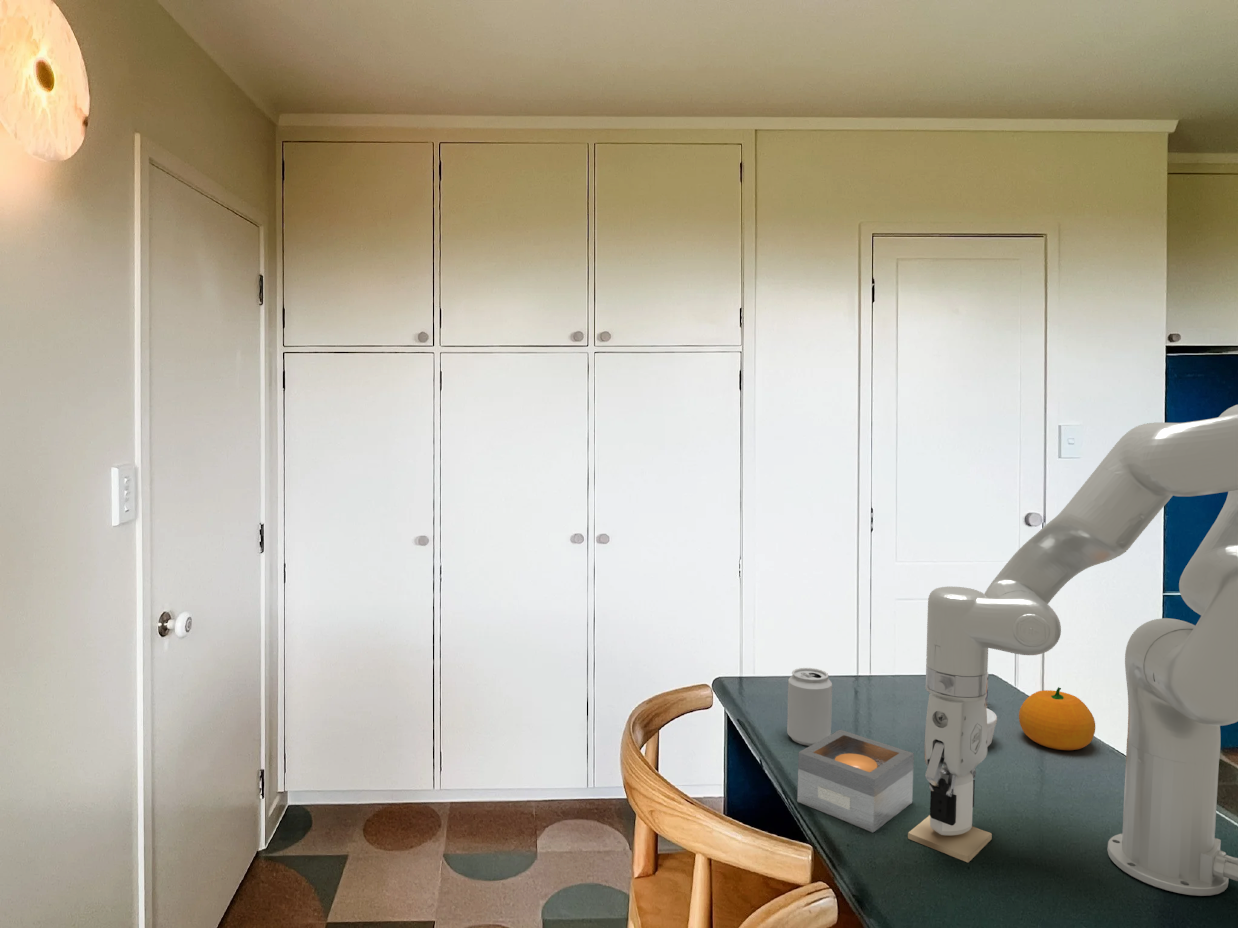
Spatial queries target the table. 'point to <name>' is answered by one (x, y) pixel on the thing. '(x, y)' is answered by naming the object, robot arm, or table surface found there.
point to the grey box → (855, 780)
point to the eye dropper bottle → (958, 807)
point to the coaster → (951, 840)
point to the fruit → (1057, 720)
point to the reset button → (857, 761)
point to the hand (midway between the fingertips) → (952, 811)
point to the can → (809, 706)
